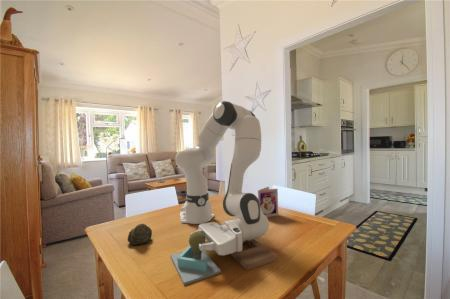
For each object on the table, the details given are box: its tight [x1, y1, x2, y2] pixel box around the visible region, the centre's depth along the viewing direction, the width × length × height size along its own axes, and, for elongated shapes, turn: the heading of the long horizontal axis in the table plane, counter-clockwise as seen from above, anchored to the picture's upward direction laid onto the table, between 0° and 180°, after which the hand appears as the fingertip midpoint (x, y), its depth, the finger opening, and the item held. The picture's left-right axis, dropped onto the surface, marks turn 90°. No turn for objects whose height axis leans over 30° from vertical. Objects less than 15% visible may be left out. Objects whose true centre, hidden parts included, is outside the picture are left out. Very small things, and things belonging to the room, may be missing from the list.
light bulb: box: [188, 231, 206, 260], centre depth 75 cm, size 6×6×10 cm
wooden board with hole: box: [230, 239, 277, 271], centre depth 83 cm, size 24×12×2 cm, turn 27°
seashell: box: [127, 223, 153, 245], centre depth 93 cm, size 11×12×10 cm
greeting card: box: [257, 186, 279, 218], centre depth 120 cm, size 11×7×15 cm, turn 104°
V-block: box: [169, 244, 222, 286], centre depth 74 cm, size 18×12×4 cm, turn 27°
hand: (194, 241), depth 74 cm, fingers open, 8 cm apart
